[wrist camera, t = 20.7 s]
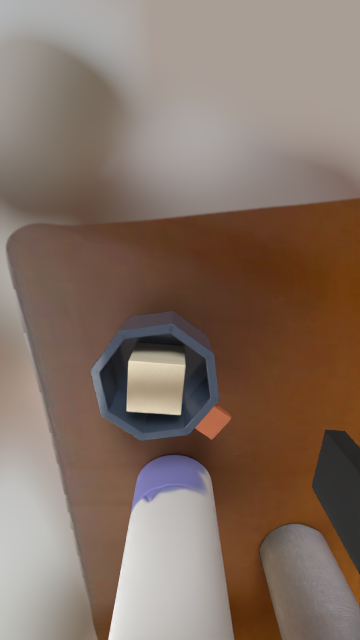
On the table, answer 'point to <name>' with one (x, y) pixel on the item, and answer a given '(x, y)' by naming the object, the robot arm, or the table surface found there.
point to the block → (156, 379)
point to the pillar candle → (308, 586)
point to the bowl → (197, 380)
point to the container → (172, 559)
